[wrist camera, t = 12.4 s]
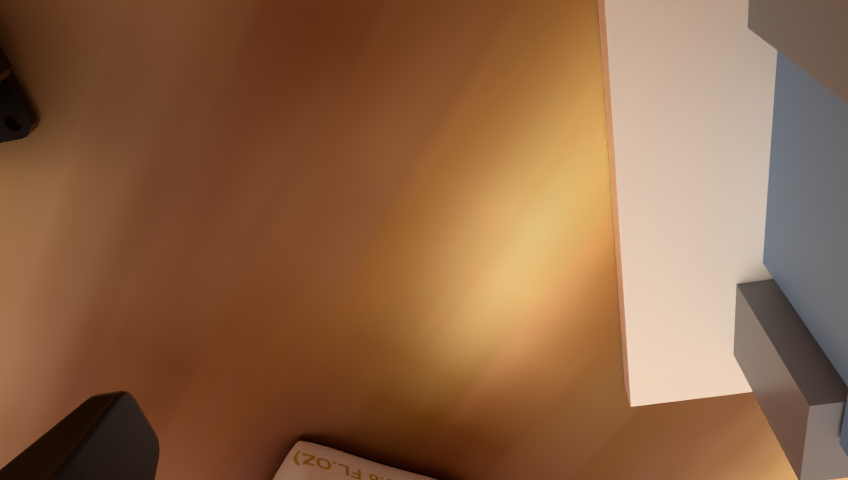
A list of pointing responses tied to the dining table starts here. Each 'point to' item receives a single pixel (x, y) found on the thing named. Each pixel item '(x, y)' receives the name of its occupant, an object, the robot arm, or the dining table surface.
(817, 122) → the block
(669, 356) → the plate
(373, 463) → the juice carton
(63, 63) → the dining table surface
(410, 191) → the dining table surface
